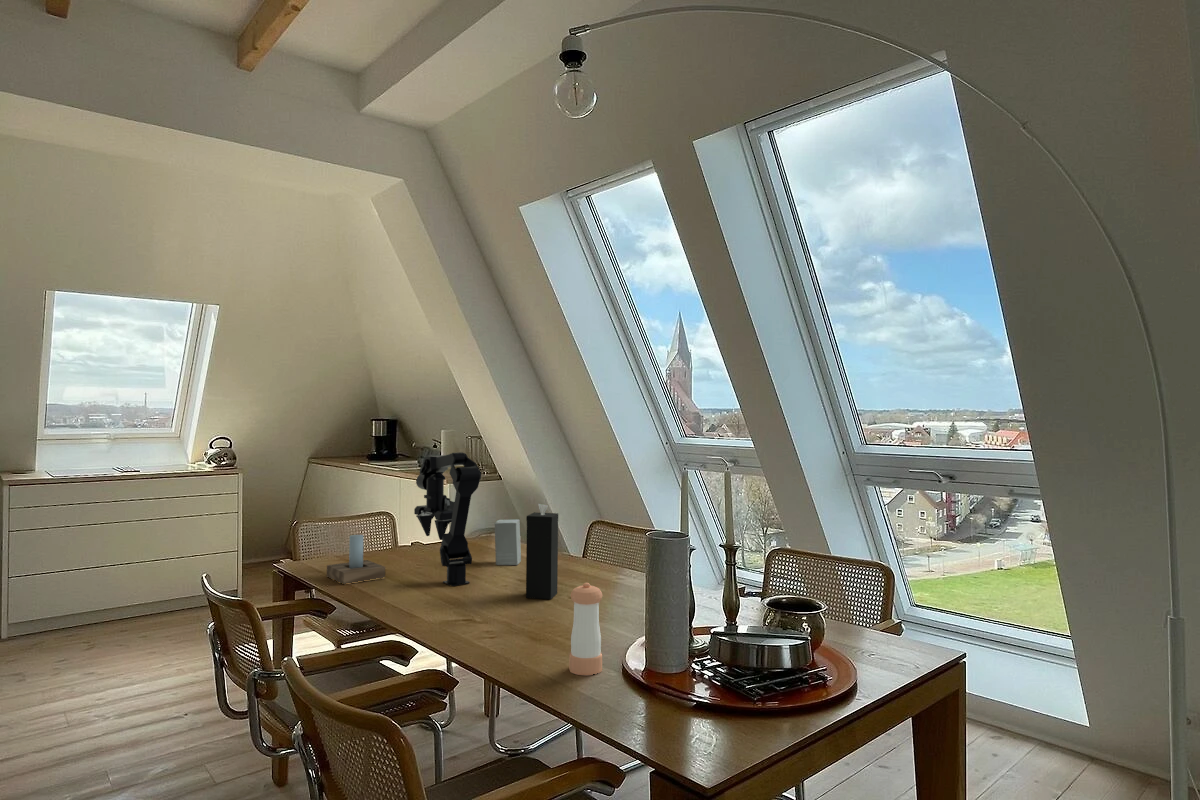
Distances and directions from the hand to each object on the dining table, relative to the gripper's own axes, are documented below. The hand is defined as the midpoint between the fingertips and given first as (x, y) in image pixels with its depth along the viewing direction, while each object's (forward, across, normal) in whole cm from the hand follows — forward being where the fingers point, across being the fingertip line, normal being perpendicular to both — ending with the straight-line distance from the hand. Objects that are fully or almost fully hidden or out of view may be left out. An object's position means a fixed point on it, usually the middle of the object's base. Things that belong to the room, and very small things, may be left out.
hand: (434, 537), depth 265 cm
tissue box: (+12, -48, -10) cm, 51 cm away
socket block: (+12, +9, +24) cm, 28 cm away
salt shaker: (+12, -106, +21) cm, 109 cm away
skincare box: (+12, -3, -28) cm, 31 cm away
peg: (+12, +9, +24) cm, 28 cm away
